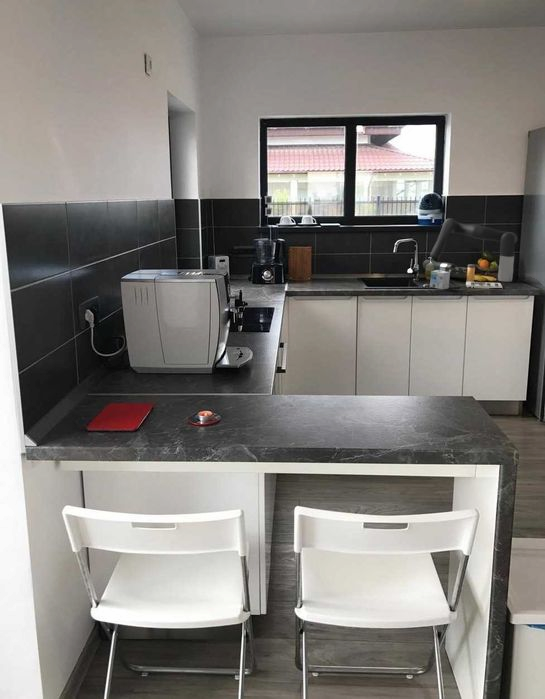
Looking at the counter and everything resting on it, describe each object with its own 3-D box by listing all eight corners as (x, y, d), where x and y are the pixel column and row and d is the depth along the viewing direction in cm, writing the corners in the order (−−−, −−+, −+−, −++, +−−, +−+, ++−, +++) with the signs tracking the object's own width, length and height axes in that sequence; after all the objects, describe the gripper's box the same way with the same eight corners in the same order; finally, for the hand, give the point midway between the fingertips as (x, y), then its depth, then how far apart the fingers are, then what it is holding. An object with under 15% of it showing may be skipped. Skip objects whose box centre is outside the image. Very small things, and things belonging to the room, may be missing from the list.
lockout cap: (473, 282, 467) (475, 264, 463) (473, 283, 462) (475, 265, 459) (466, 281, 468) (467, 264, 464) (466, 282, 463) (468, 265, 460)
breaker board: (499, 285, 455) (500, 281, 455) (502, 289, 442) (502, 285, 442) (466, 283, 460) (466, 279, 459) (467, 287, 447) (467, 283, 446)
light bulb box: (429, 287, 447) (430, 270, 444) (436, 285, 451) (437, 269, 448) (442, 289, 439) (443, 272, 436) (449, 288, 443) (450, 272, 440)
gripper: (442, 264, 472) (461, 267, 460) (455, 262, 481) (474, 265, 469) (441, 274, 475) (460, 278, 462) (454, 272, 483) (473, 276, 471)
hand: (467, 271), depth 465 cm, fingers open, 8 cm apart
